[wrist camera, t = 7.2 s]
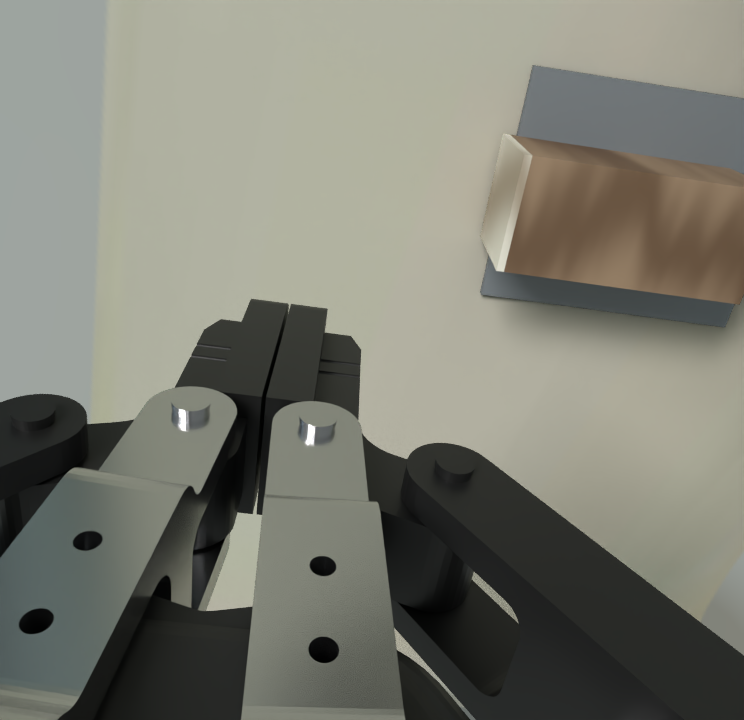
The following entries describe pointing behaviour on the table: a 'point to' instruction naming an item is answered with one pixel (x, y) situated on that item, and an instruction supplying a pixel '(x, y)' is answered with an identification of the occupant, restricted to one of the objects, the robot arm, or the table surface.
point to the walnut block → (616, 220)
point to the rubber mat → (631, 135)
